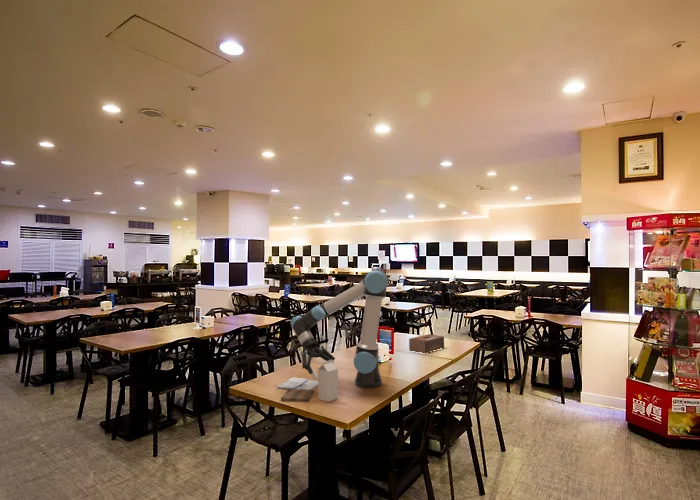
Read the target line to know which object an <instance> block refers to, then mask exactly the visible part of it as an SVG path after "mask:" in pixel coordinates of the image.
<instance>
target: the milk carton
mask: <svg viewBox="0 0 700 500" xmlns="http://www.w3.org/2000/svg"><path fill="white" fill-rule="evenodd" d="M333 362H334V361H333V360H329V361H325V360H324V361H323V362H322V365H320V366H319V368H317V381H318V386H317V388H318V389H317V392H318V393H317V395H318V396H317V398H318V400H321V401H324V402H328V403H329V402H331V401H335V400H337V399H339V381H338V378H339V370H338V367H337V365H336V363H335V362H334V363H333Z"/></svg>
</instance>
